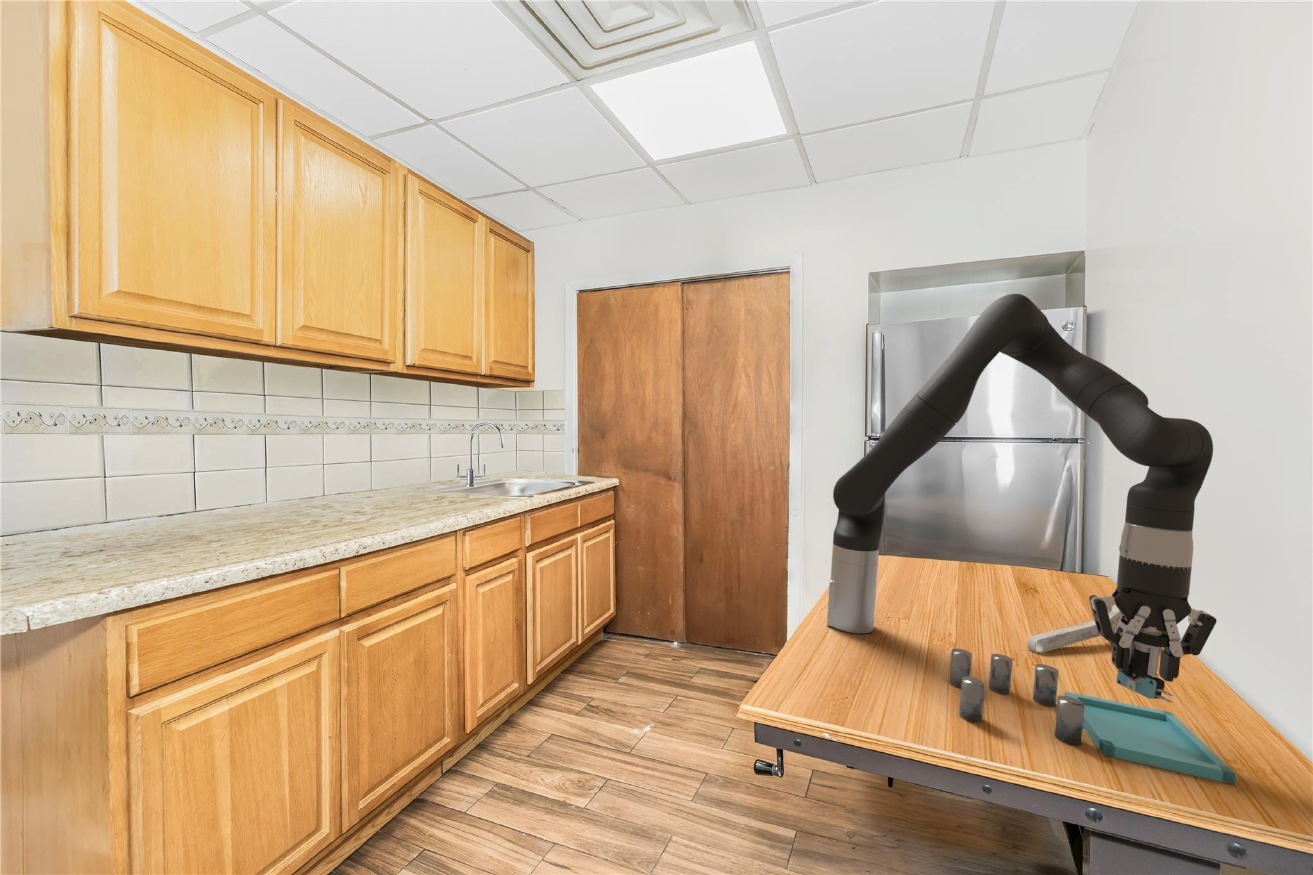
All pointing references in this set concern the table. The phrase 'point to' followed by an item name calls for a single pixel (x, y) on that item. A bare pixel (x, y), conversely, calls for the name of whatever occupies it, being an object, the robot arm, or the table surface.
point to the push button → (1145, 664)
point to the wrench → (1069, 634)
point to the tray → (1149, 738)
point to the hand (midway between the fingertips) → (1143, 674)
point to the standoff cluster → (1000, 682)
